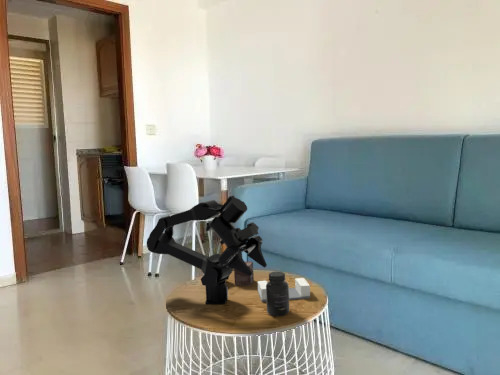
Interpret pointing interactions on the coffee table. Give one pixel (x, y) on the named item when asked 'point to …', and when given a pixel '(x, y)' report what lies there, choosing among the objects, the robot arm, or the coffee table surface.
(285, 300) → the supplement bottle
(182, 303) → the coffee table surface
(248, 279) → the box
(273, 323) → the coffee table surface
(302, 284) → the rail plate
